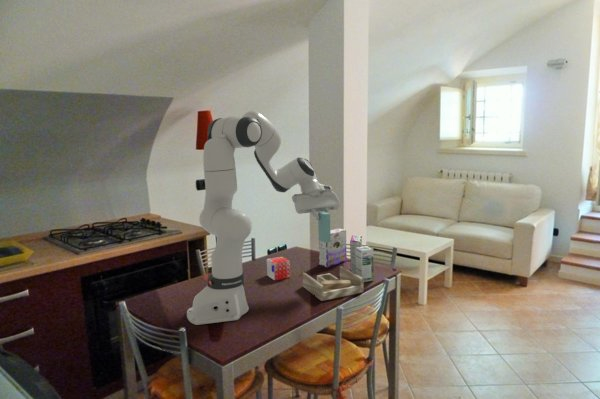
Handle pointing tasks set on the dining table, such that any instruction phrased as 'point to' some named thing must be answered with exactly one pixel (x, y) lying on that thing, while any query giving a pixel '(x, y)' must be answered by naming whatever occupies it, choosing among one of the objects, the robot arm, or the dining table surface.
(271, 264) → the red white patterned cube
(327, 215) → the teal panel
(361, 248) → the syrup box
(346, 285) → the upper offcut
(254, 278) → the dining table surface
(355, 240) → the candy bar box
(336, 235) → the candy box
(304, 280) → the frame
